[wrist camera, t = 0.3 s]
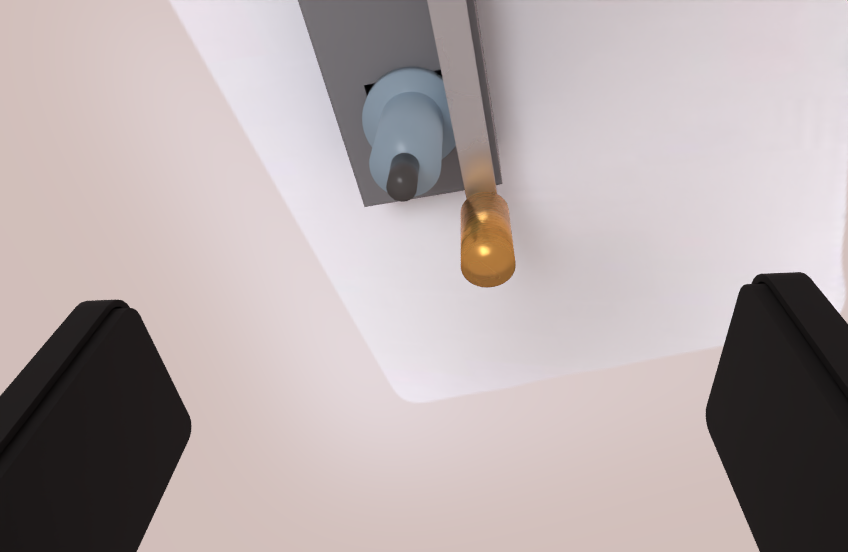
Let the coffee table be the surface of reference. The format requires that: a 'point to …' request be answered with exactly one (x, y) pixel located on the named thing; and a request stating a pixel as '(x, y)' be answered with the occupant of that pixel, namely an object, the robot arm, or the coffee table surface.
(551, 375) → the coffee table surface
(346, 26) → the socket block
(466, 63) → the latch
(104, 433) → the robot arm
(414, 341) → the coffee table surface
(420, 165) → the plug
